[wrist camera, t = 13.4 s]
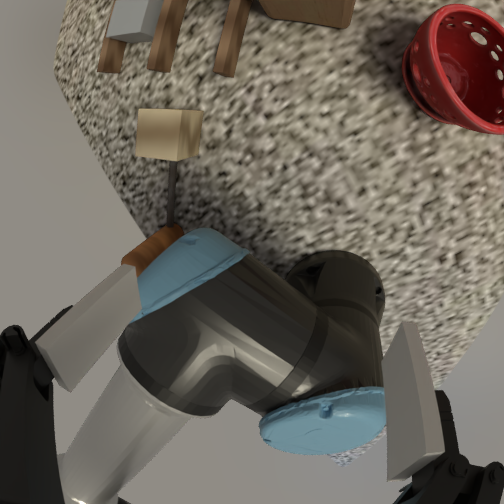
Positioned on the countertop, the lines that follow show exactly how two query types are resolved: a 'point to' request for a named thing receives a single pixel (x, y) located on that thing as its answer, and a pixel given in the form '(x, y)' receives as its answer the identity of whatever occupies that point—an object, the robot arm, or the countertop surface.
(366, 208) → the countertop surface
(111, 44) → the lane rack
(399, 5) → the countertop surface
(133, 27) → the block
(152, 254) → the corded block
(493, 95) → the plant pot
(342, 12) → the wooden block
